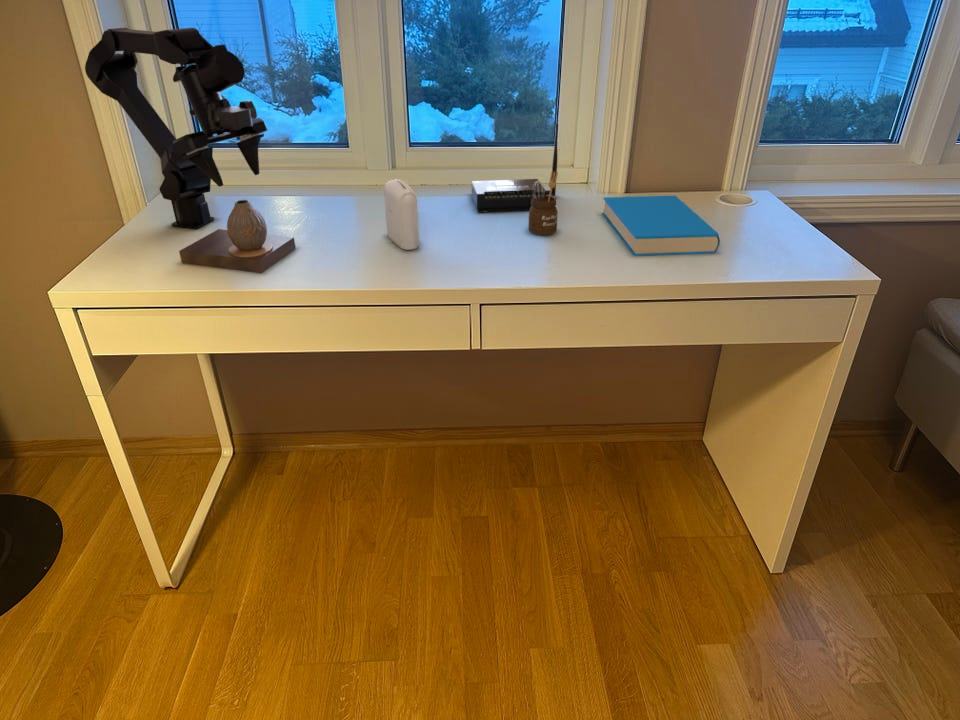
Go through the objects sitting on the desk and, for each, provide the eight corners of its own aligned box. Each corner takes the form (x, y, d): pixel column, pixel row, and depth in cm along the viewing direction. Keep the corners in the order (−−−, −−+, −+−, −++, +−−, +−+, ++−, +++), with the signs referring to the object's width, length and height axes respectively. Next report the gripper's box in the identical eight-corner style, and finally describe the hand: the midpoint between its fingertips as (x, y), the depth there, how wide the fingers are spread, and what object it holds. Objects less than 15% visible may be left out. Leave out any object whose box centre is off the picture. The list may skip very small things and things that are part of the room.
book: (636, 236, 129) (602, 195, 150) (633, 258, 131) (600, 214, 152) (723, 233, 130) (677, 193, 151) (718, 254, 132) (674, 212, 153)
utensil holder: (522, 231, 142) (524, 174, 136) (541, 224, 146) (543, 168, 140) (544, 238, 139) (547, 180, 133) (562, 230, 143) (566, 174, 137)
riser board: (181, 263, 127) (178, 249, 126) (221, 240, 138) (218, 227, 136) (261, 273, 123) (258, 259, 122) (295, 249, 134) (293, 235, 132)
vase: (245, 257, 123) (236, 210, 118) (223, 248, 126) (214, 202, 122) (277, 246, 127) (269, 200, 123) (254, 238, 131) (247, 193, 127)
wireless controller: (478, 213, 153) (477, 135, 144) (470, 194, 165) (470, 121, 156) (564, 209, 155) (569, 132, 146) (551, 191, 167) (555, 119, 158)
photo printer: (384, 235, 140) (380, 176, 134) (404, 232, 142) (400, 173, 136) (401, 252, 132) (397, 189, 126) (422, 248, 134) (419, 187, 128)
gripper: (188, 94, 116) (226, 183, 121) (268, 80, 130) (299, 160, 135) (154, 112, 123) (192, 195, 128) (234, 96, 137) (265, 172, 142)
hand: (239, 180), depth 133 cm, fingers open, 9 cm apart
